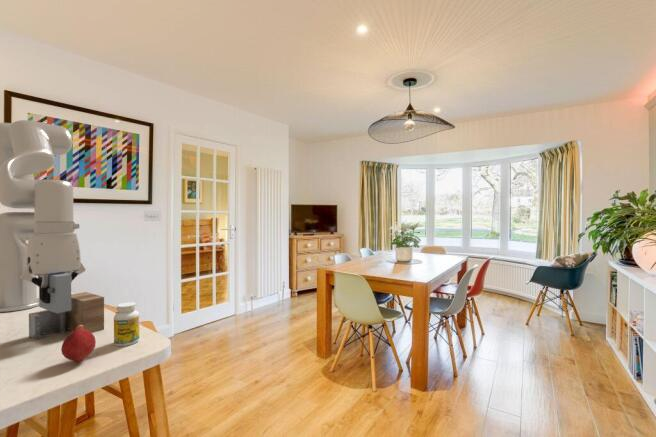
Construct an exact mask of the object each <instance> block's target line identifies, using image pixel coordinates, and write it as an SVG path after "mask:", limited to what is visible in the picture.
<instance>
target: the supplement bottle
mask: <svg viewBox="0 0 656 437" xmlns="http://www.w3.org/2000/svg"><path fill="white" fill-rule="evenodd" d="M136 309H137V304H136V302H133V301H131V302H130V301H128V302H127V301H126V302H122V303H119V304H117V305H116V311H117V312H116V313H115V314H114V316H113V344H114V346H115V347H129V346H131V345H133V344H136V343H138V342H139V341H140V312H139V311H138V310H136Z"/></svg>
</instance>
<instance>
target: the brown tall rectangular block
mask: <svg viewBox="0 0 656 437" xmlns="http://www.w3.org/2000/svg"><path fill="white" fill-rule="evenodd" d="M79 325H83V329H85V330H87V331H89V332H91V333H92V334H94V333H96V332H100V331H103V330H105V296H102V295H100V294H99V295H98V294H94V293H92V292H87V291H85V292H79V293H74V294H73V293H71V310H70V311H67V329H66V330H69V331H71V332H72V331H74V330H75V329H76V328H77V327H78V326H79Z"/></svg>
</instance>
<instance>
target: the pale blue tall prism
mask: <svg viewBox="0 0 656 437" xmlns="http://www.w3.org/2000/svg"><path fill="white" fill-rule="evenodd" d="M48 287H50V288H49V289H48V293H50V303H47V304H46V303H43V302H42V300H40V298H39V297H38V298H39V305H38V306H39V308H41V309H44V310H49V311H51V312H54V313H61V312H66V311H70V310H71V295H72V283H71V274H66V273H58V274H50V275H49V278H48Z"/></svg>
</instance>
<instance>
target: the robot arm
mask: <svg viewBox="0 0 656 437" xmlns="http://www.w3.org/2000/svg"><path fill="white" fill-rule="evenodd" d="M72 149H73V137H72V134H71V132H70V131H69V130H68V129H67V128H66V127H64V126H61V125H57V124H52V123H48V122H47V123H46V122H40V121H35V120H25V119H23V120H22V119H19V120H16V121H14V122H13V121H12V123H11V122H0V204H1V205H2V206H4V207H7V208H12V209H34V210H33V211H9V212H2V213H0V313H5V312H15V311H22V310H28V309H32V308H36V307H38V306H39V298H40V300H42V302H43V303H46V304H47V303H50V293H48V289H49V288H50V287H48V278H49V275H50V274H58V273H66V274H71V284H72V282H73V281H74V280H75V279H76V277H78V276H79V275H81V274H82V273H85V272H86V268H85V266H84V265H83V264H82V262H81V261H82V260H81V250H80V242H79V240H78V239H79V238H78V236H77V233H74V232H75V230H78V229H80V224H79V223H75V221H74V186H73V183H71V182H70V181H67V180H61V179H35V177H34V176H35V174H38V173H42V172H45V171H47V170H50V169H51V168H53V166H54V164H55V162H56V158H55V156H61V155H65V154H68V153H69V152H70V151H71V150H72ZM37 287H38V290H37ZM37 291H38V292H37ZM37 293H38V294H39V295H37ZM37 296H38V297H37Z"/></svg>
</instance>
